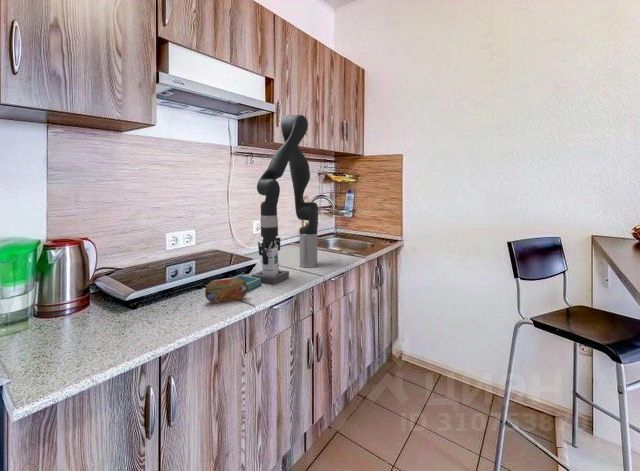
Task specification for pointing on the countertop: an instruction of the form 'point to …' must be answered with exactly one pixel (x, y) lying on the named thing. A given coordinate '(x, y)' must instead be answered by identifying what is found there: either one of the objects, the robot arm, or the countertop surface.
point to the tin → (226, 290)
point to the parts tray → (250, 281)
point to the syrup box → (271, 263)
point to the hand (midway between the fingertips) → (270, 262)
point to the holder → (272, 280)
